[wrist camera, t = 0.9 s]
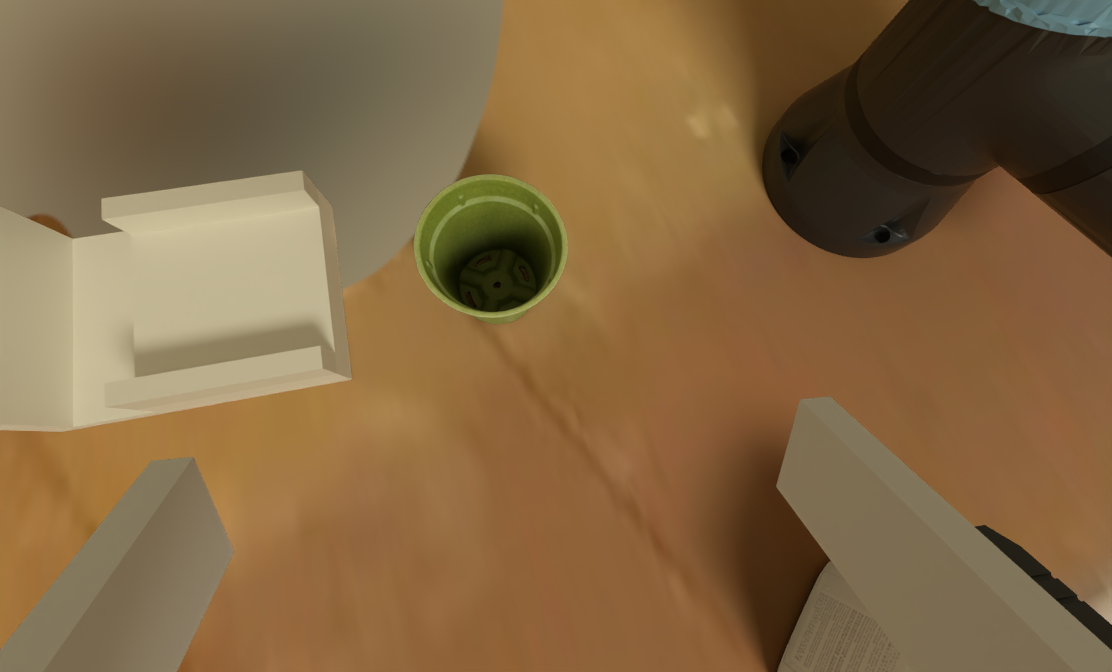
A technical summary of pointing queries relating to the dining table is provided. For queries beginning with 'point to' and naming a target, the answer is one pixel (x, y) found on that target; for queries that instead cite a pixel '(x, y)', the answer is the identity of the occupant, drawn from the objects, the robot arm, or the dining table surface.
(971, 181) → the robot arm
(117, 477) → the dining table surface
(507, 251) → the plant pot
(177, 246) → the bracket shelf
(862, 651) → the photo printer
